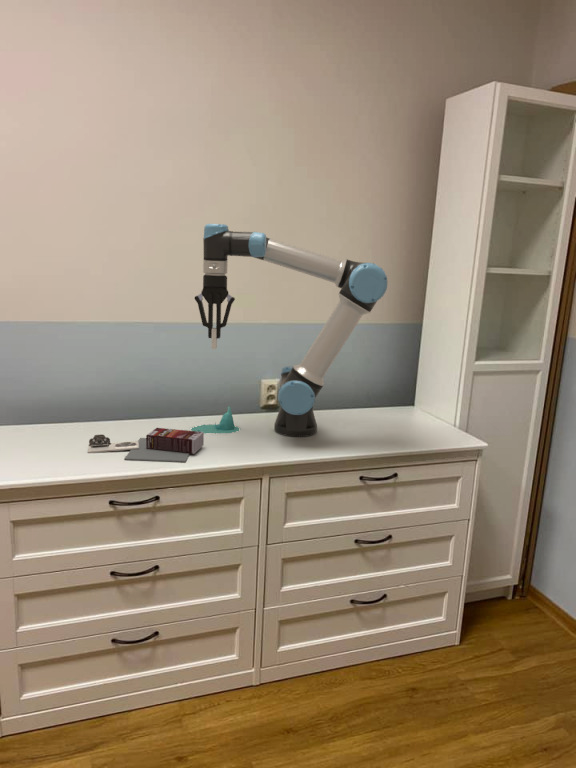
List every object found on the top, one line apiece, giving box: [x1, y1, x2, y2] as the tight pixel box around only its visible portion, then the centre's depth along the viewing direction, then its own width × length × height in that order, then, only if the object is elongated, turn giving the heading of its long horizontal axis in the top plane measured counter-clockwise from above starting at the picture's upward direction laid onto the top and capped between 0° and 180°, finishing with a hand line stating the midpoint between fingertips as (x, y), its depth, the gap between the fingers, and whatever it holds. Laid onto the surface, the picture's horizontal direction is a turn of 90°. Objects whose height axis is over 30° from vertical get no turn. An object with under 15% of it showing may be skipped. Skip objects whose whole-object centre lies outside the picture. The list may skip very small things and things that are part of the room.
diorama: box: [190, 405, 240, 435], centre depth 212 cm, size 12×20×9 cm, turn 100°
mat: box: [123, 437, 191, 463], centre depth 188 cm, size 18×20×1 cm
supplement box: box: [145, 427, 205, 455], centre depth 189 cm, size 9×5×16 cm
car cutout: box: [87, 434, 139, 454], centre depth 187 cm, size 15×7×4 cm, turn 105°
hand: (214, 348), depth 196 cm, fingers closed
